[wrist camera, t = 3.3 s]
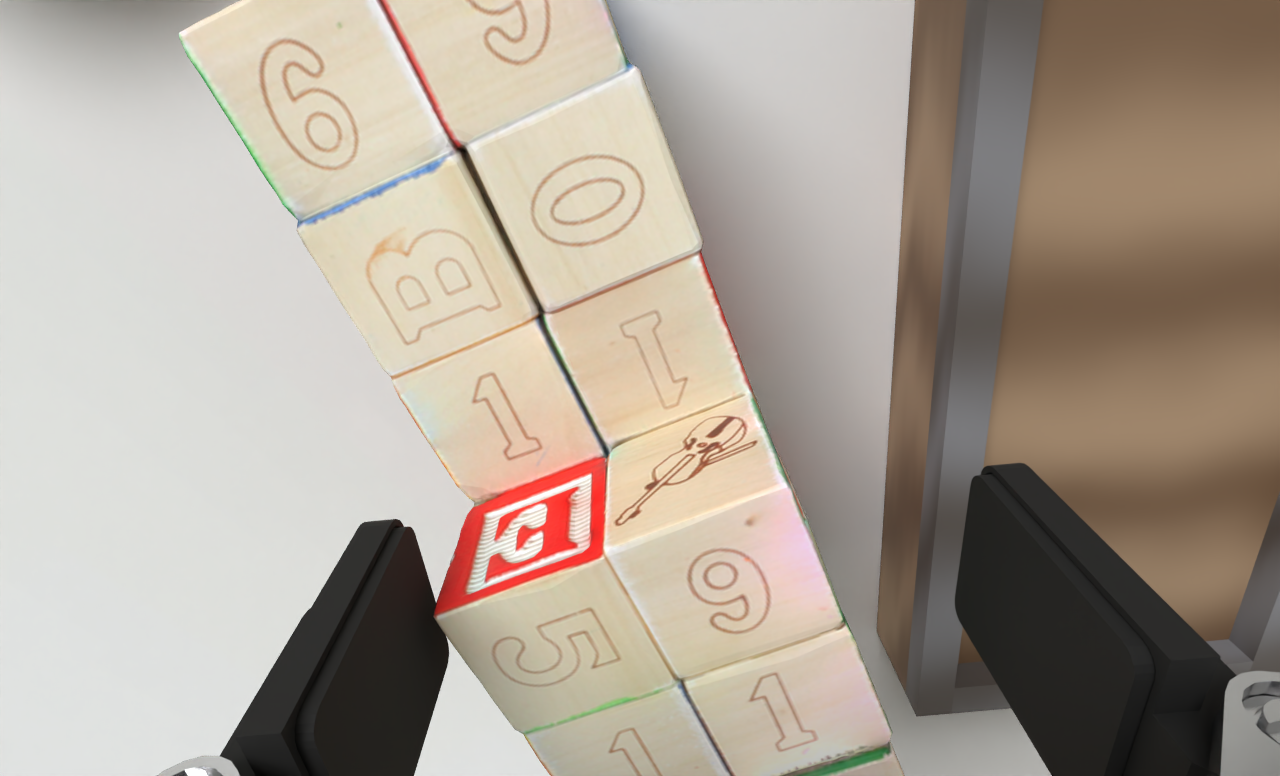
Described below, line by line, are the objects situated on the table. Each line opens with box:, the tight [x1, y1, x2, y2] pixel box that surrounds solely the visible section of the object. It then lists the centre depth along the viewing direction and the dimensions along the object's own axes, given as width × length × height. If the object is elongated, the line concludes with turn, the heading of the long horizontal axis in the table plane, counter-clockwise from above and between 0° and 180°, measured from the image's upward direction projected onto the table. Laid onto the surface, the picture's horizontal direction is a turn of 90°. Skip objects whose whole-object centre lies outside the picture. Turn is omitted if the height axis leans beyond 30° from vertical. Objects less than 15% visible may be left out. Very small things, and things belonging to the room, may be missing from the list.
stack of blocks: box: [179, 0, 904, 776], centre depth 16 cm, size 21×6×12 cm, turn 22°
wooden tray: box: [877, 0, 1280, 716], centre depth 19 cm, size 27×12×4 cm, turn 6°
